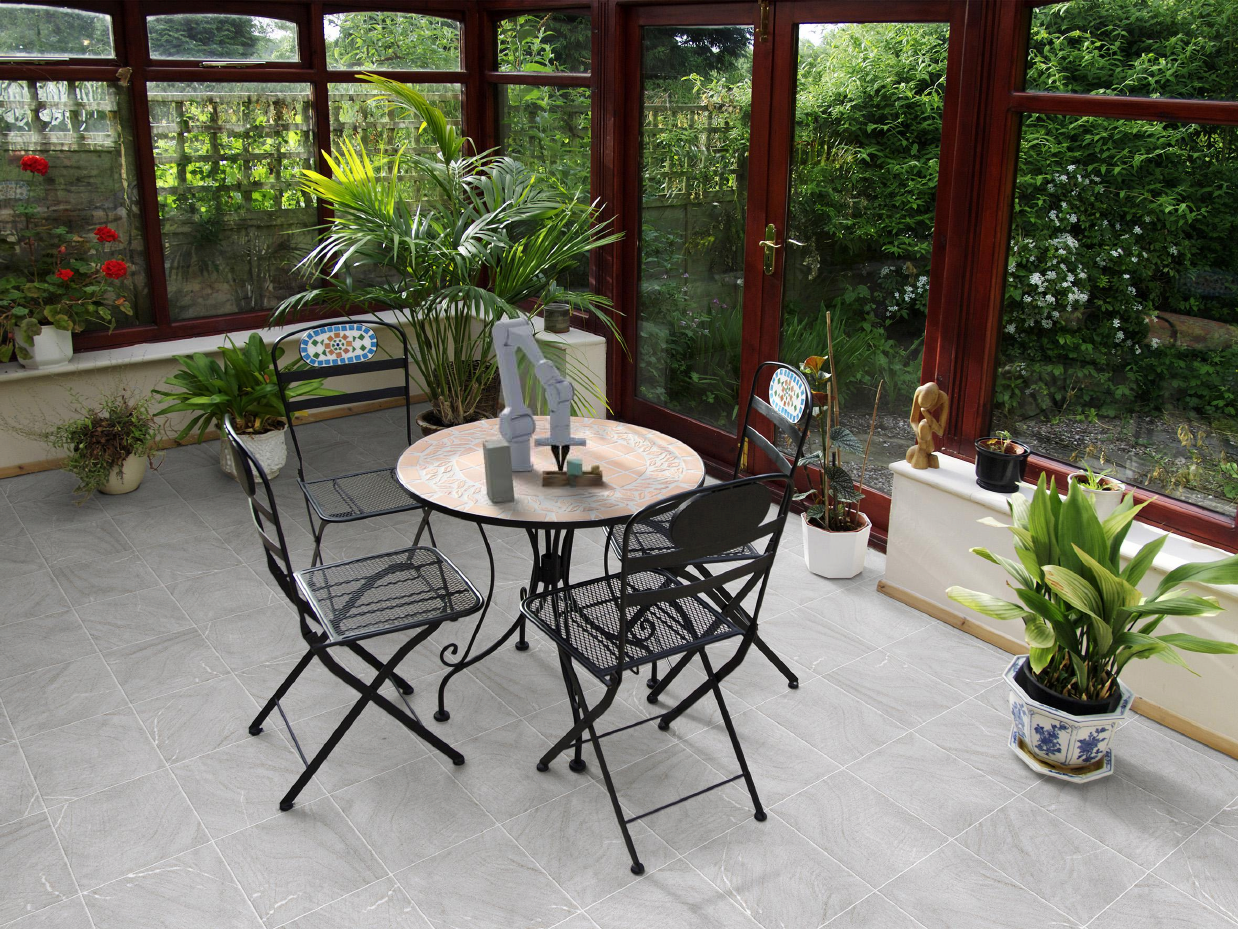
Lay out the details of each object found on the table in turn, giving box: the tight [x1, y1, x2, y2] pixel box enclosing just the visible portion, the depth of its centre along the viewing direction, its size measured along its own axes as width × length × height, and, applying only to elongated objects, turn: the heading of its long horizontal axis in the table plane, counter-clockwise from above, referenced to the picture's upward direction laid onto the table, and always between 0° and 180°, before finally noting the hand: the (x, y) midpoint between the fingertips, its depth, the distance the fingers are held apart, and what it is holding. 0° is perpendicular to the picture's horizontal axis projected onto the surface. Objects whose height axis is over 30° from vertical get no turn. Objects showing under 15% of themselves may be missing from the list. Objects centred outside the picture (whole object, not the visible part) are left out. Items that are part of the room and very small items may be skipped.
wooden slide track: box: [541, 464, 604, 488], centre depth 313 cm, size 17×7×5 cm, turn 92°
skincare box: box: [482, 438, 515, 504], centre depth 299 cm, size 8×7×16 cm
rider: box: [566, 458, 583, 475], centre depth 312 cm, size 4×4×5 cm
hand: (560, 470), depth 312 cm, fingers closed
